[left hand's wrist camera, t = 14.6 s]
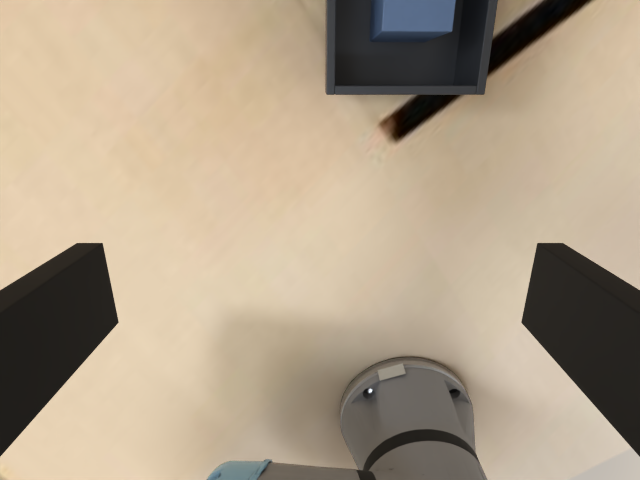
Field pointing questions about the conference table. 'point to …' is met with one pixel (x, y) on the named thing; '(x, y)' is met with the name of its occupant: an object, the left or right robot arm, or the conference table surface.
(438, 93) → the tray
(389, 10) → the block
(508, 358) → the conference table surface
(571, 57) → the conference table surface
